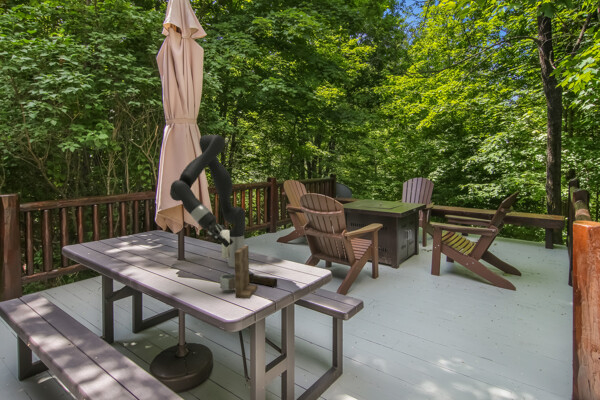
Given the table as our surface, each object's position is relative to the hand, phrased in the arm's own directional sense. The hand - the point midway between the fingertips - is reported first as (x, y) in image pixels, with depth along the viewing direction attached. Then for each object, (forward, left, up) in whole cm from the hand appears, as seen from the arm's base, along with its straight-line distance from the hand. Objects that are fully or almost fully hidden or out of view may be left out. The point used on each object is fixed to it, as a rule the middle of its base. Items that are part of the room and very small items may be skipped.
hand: (230, 244), depth 150 cm
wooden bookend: (0, +7, -22) cm, 23 cm away
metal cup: (0, 0, -20) cm, 20 cm away
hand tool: (-12, +9, -22) cm, 27 cm away
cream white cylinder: (0, -2, -6) cm, 6 cm away
